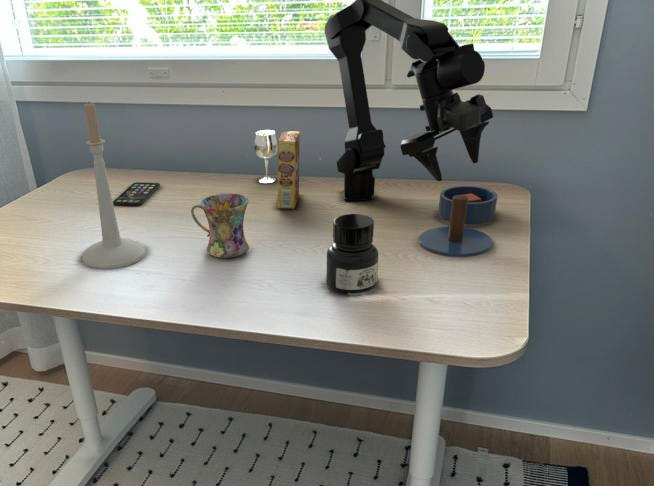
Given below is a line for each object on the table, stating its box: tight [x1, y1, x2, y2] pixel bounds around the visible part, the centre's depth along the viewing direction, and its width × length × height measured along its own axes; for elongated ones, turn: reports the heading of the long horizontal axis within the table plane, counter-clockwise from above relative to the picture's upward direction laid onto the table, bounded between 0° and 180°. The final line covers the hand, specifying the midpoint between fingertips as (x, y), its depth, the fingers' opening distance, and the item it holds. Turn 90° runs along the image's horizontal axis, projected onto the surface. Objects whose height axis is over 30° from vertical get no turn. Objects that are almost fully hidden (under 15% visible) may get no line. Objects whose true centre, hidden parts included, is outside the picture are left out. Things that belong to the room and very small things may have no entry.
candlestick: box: [81, 101, 146, 270], centre depth 131 cm, size 13×13×30 cm
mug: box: [190, 192, 250, 259], centre depth 135 cm, size 12×9×11 cm
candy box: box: [277, 130, 301, 210], centre depth 156 cm, size 9×4×15 cm, turn 169°
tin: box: [437, 185, 499, 226], centre depth 145 cm, size 11×12×5 cm
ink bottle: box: [325, 213, 379, 295], centre depth 119 cm, size 10×9×12 cm
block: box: [463, 193, 482, 203], centre depth 145 cm, size 4×4×4 cm
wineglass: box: [253, 129, 278, 184], centre depth 172 cm, size 6×6×12 cm
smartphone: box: [112, 181, 161, 206], centre depth 170 cm, size 7×1×15 cm
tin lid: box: [418, 195, 493, 258], centre depth 132 cm, size 14×14×10 cm
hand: (457, 171), depth 137 cm, fingers open, 9 cm apart
